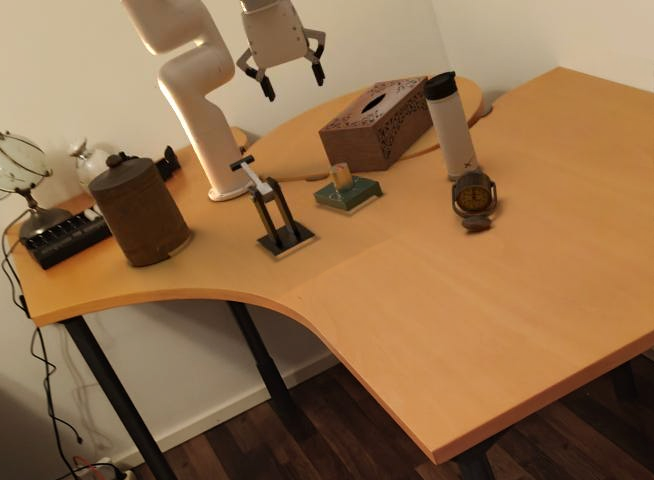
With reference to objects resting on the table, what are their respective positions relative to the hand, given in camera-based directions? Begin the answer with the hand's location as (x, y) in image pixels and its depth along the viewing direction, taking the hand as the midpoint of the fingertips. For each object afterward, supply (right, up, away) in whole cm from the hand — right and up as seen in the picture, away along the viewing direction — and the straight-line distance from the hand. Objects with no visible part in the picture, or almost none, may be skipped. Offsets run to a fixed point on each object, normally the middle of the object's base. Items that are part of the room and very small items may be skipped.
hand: (297, 91), depth 158 cm
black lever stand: (-3, -26, +11) cm, 29 cm away
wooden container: (-34, -25, +28) cm, 51 cm away
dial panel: (+9, -17, +18) cm, 26 cm away
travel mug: (+32, -13, +11) cm, 36 cm away
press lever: (-9, -15, +8) cm, 19 cm away
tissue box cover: (+16, 0, +37) cm, 40 cm away
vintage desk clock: (+33, -24, -5) cm, 41 cm away
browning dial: (+8, -14, +16) cm, 23 cm away
